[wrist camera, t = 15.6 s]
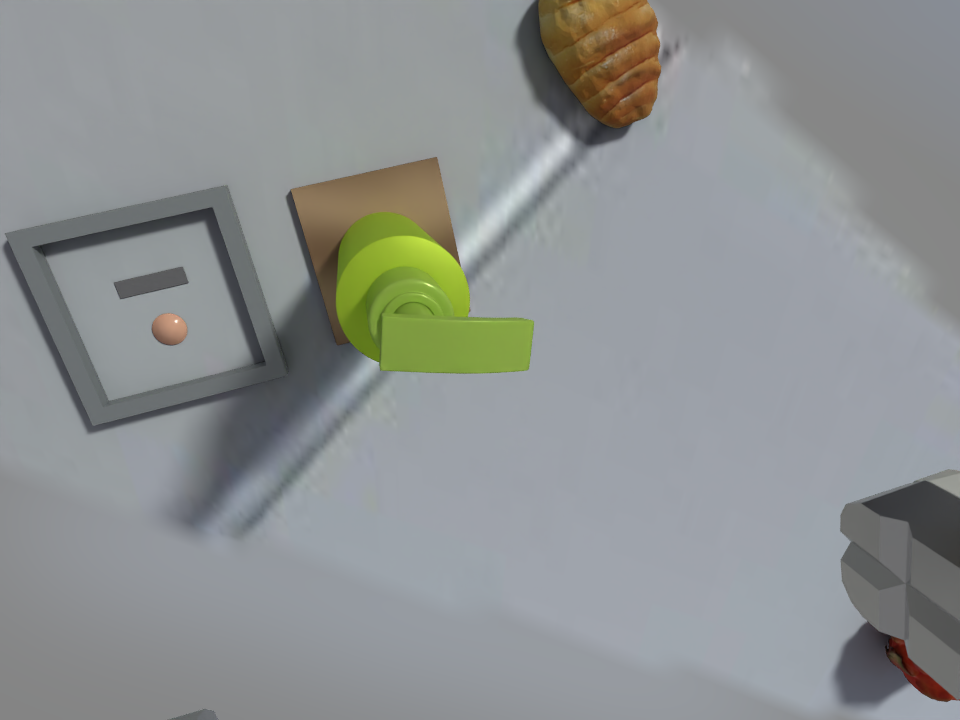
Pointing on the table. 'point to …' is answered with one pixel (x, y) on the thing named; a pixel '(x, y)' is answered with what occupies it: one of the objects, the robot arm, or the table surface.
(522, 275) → the table surface
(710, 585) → the table surface
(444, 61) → the table surface
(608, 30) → the pastry
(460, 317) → the soap dispenser
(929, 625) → the robot arm
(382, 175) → the walnut pad
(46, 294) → the slate frame
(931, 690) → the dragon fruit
